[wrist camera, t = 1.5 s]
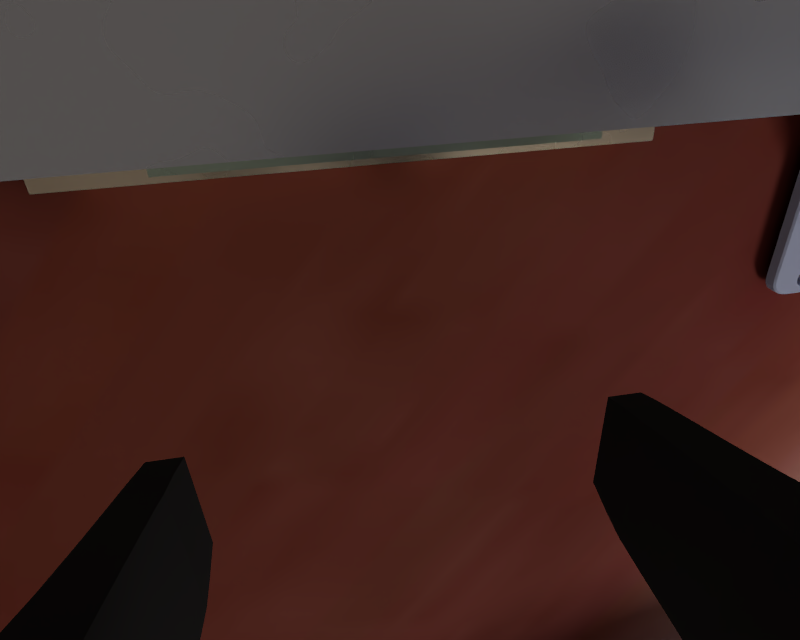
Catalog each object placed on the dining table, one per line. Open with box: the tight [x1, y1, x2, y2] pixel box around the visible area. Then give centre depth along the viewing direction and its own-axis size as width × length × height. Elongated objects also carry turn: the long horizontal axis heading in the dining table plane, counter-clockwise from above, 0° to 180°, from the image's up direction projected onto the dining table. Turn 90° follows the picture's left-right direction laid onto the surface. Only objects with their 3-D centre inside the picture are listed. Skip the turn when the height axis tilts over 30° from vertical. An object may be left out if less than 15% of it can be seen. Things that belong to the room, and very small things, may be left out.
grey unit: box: [0, 0, 800, 194], centre depth 8 cm, size 14×6×7 cm, turn 93°
